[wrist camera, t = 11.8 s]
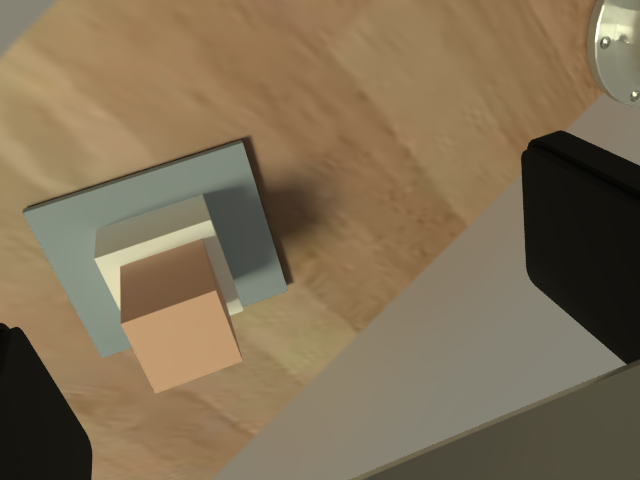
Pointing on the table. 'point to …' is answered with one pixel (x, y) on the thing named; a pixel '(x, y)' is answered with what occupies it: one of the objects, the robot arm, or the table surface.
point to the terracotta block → (176, 316)
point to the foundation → (159, 235)
